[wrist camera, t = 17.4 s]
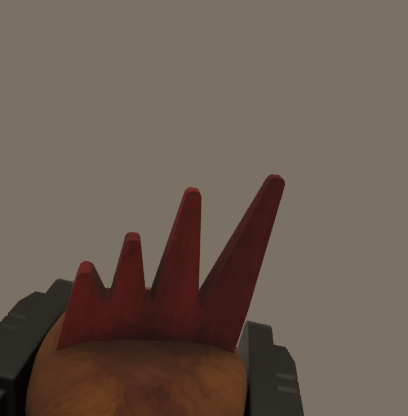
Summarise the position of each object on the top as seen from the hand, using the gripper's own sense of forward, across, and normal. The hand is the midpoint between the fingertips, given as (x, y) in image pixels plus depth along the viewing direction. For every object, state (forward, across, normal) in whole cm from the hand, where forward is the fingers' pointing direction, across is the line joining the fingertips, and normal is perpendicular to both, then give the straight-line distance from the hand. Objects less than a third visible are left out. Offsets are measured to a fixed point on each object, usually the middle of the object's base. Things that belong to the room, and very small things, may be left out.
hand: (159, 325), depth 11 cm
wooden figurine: (-3, 0, +9) cm, 10 cm away
